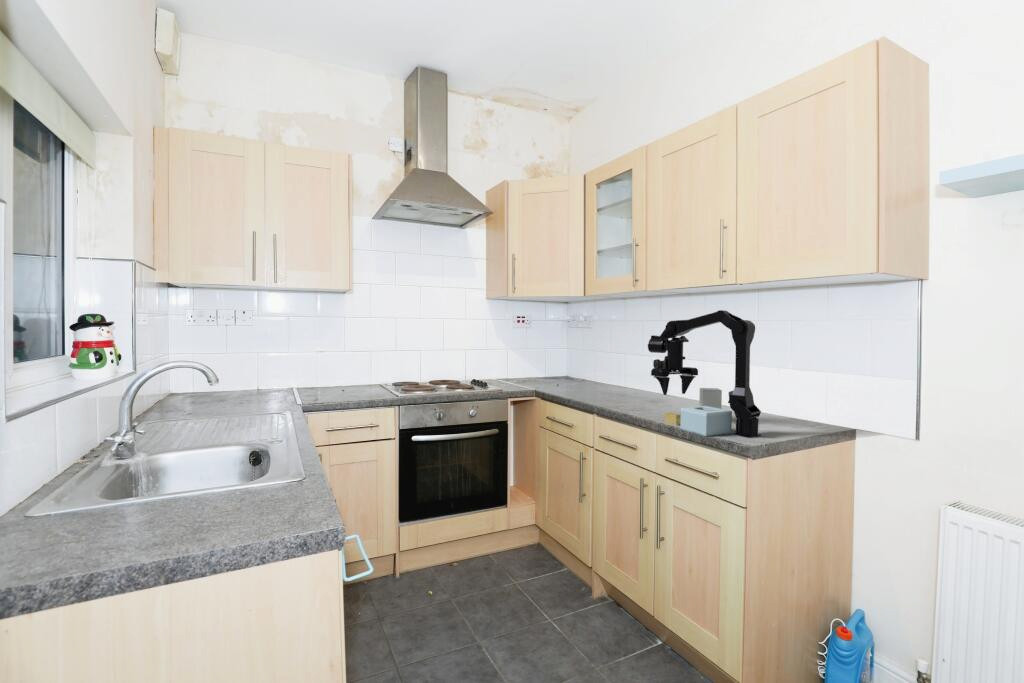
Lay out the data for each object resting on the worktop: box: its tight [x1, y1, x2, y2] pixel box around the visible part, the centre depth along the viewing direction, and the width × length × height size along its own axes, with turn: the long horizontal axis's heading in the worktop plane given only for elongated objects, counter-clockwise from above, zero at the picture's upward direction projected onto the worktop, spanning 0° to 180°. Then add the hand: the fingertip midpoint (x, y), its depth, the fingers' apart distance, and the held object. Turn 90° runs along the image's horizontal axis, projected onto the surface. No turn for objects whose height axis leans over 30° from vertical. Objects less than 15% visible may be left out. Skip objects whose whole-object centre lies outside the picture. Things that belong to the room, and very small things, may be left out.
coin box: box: [679, 405, 733, 438], centre depth 181 cm, size 12×12×8 cm
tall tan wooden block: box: [664, 411, 681, 425], centre depth 195 cm, size 3×6×4 cm, turn 25°
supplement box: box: [698, 387, 723, 409], centre depth 203 cm, size 7×7×13 cm
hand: (674, 394), depth 195 cm, fingers open, 9 cm apart
